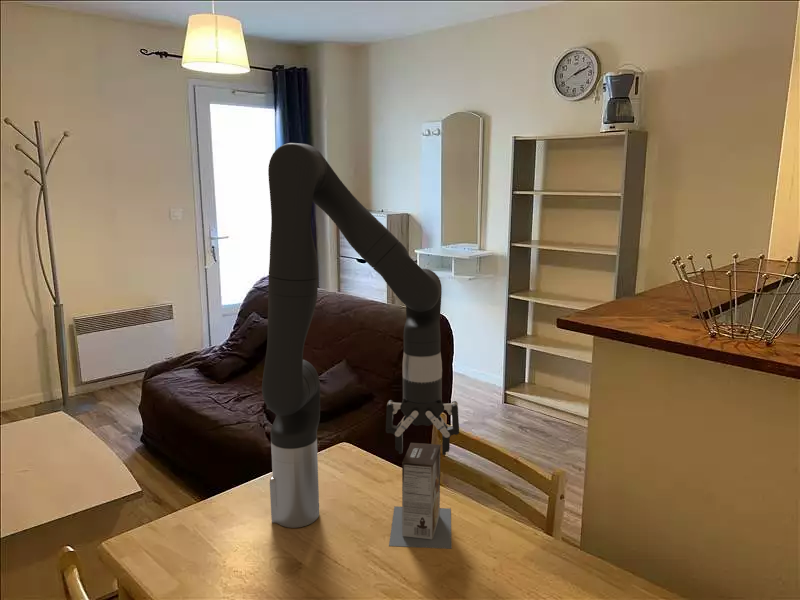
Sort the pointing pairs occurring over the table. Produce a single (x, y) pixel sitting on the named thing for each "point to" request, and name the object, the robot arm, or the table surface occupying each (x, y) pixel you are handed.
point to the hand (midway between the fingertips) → (422, 452)
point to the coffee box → (421, 490)
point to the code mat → (439, 540)
